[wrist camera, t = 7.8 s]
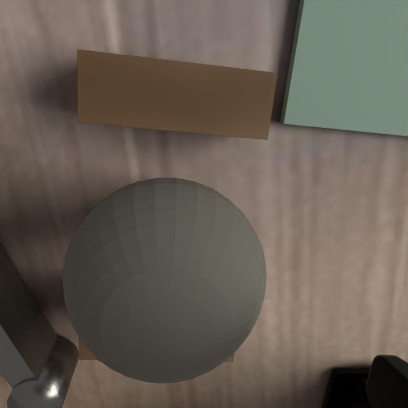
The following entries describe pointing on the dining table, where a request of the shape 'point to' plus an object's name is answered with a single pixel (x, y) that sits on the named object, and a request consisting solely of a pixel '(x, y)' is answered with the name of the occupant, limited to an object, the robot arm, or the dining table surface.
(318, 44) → the mat
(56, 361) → the bar
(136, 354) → the light bulb
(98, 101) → the cradle
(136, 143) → the dining table surface
